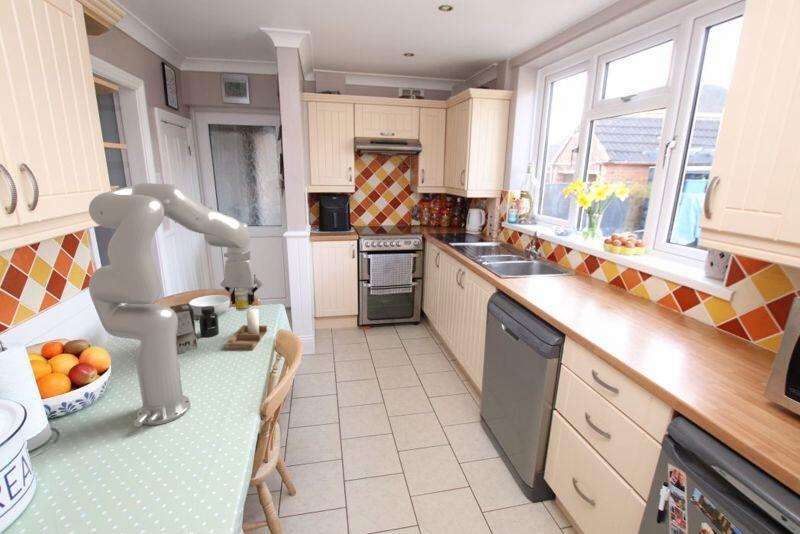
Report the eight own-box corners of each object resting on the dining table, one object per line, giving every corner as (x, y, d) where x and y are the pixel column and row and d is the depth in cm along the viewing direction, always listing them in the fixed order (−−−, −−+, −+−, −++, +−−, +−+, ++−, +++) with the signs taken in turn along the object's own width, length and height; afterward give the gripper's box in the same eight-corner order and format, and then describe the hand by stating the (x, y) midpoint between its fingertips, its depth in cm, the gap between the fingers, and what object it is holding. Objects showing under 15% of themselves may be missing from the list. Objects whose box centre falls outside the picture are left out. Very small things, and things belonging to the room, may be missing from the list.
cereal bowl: (236, 308, 184) (234, 294, 182) (222, 321, 167) (221, 306, 166) (200, 307, 182) (198, 294, 181) (183, 321, 166) (181, 306, 165)
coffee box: (198, 349, 141) (193, 309, 137) (178, 354, 137) (173, 313, 133) (193, 341, 148) (188, 302, 144) (174, 345, 144) (169, 305, 140)
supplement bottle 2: (250, 311, 139) (248, 286, 137) (235, 312, 137) (232, 287, 135) (251, 306, 144) (249, 282, 141) (236, 307, 142) (234, 283, 140)
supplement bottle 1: (211, 339, 149) (209, 311, 146) (196, 337, 150) (193, 309, 147) (223, 332, 156) (220, 305, 153) (208, 331, 157) (205, 304, 154)
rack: (252, 351, 140) (252, 344, 140) (225, 351, 140) (224, 344, 139) (267, 332, 158) (267, 325, 157) (243, 331, 157) (242, 325, 157)
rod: (257, 337, 151) (256, 312, 148) (246, 337, 150) (245, 312, 148) (260, 333, 155) (259, 308, 152) (249, 332, 155) (248, 308, 152)
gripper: (210, 258, 131) (215, 306, 136) (259, 259, 132) (262, 307, 137) (219, 253, 139) (224, 299, 143) (266, 254, 139) (269, 300, 144)
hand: (243, 302), depth 140 cm, fingers closed on supplement bottle 2, 5 cm apart
